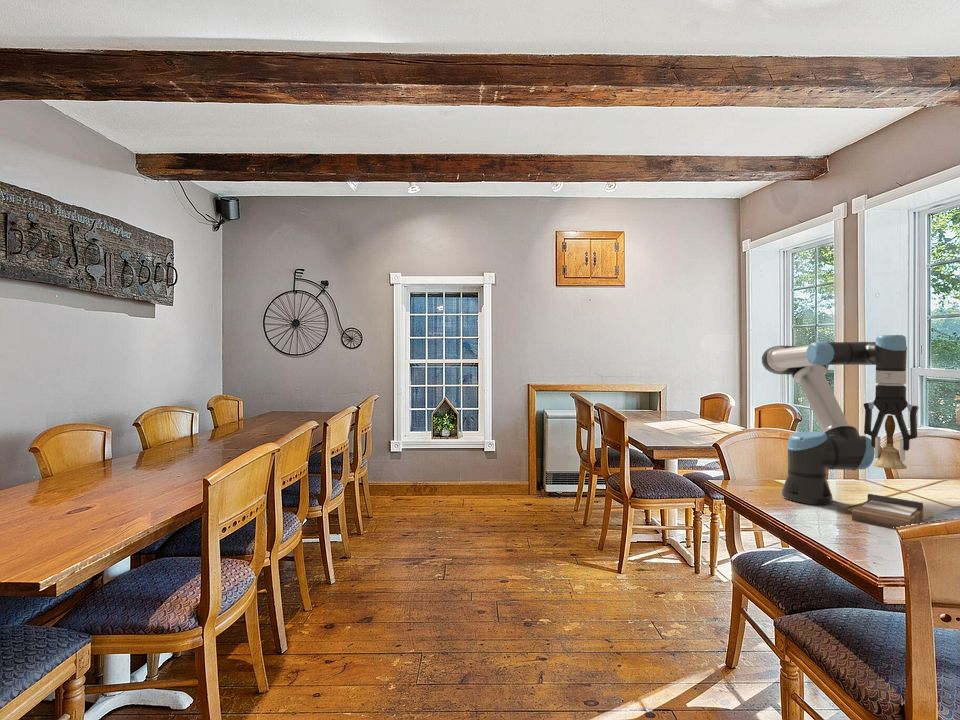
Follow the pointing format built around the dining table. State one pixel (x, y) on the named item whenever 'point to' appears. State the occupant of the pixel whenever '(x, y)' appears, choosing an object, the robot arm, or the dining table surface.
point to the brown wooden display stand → (888, 511)
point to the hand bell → (889, 449)
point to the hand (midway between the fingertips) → (889, 459)
